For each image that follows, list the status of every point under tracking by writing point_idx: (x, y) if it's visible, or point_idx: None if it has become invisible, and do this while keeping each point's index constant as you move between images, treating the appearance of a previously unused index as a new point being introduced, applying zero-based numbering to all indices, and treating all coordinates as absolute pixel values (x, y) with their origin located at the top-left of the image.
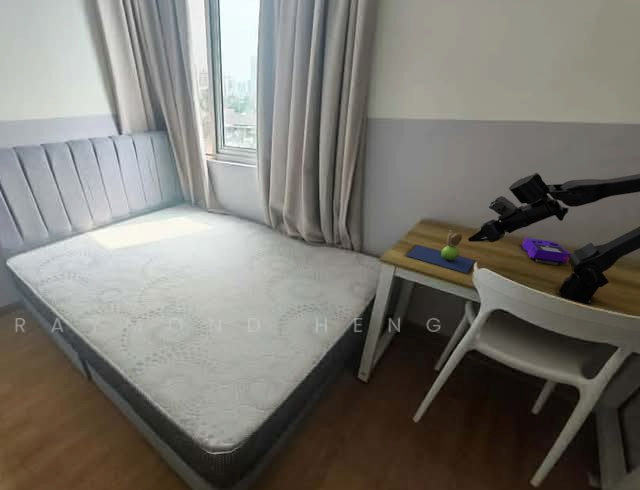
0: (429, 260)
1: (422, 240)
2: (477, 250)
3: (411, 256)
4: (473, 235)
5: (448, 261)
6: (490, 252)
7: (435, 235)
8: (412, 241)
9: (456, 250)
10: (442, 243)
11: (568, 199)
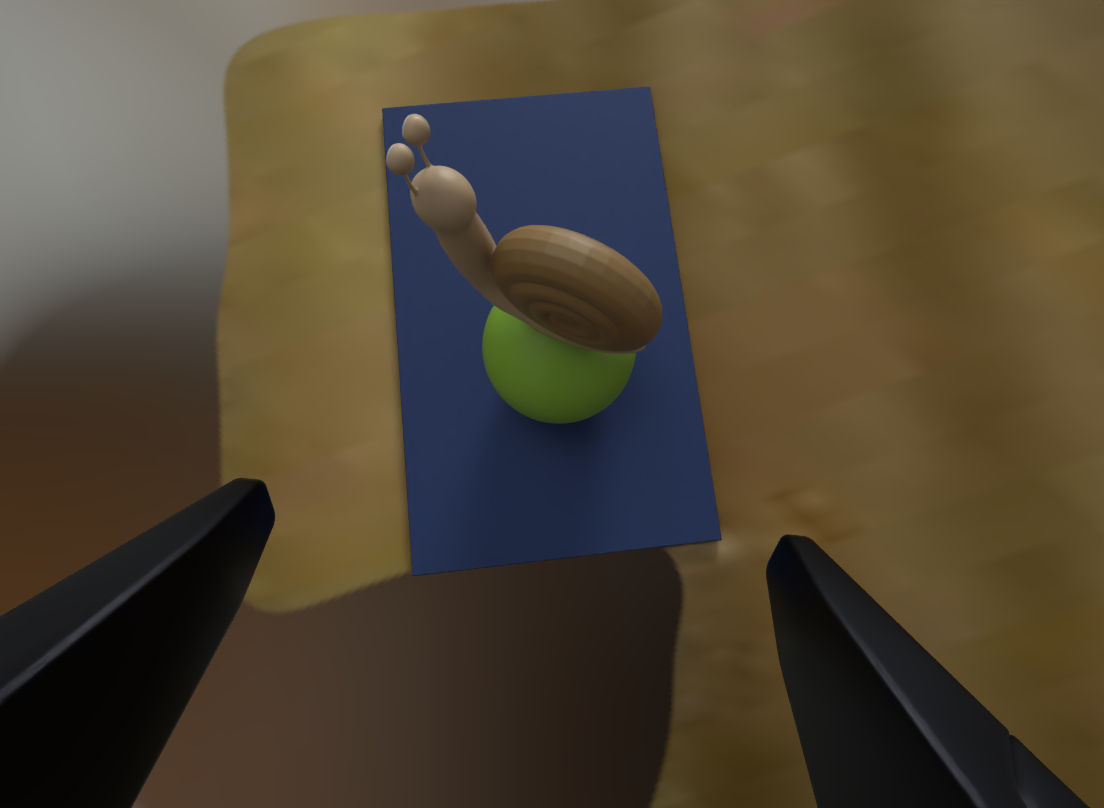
0: (424, 269)
1: (794, 77)
2: (970, 477)
3: (394, 141)
4: (73, 576)
5: None
6: (1022, 575)
7: (990, 108)
8: (707, 31)
9: (538, 386)
10: (869, 212)
11: None
